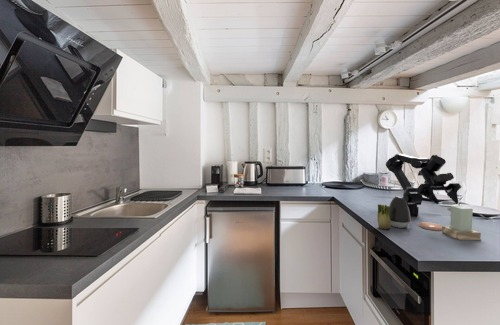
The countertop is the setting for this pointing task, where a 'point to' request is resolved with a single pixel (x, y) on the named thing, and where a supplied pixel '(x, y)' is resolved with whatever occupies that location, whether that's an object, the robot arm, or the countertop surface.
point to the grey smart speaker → (399, 213)
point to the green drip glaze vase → (383, 216)
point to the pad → (430, 226)
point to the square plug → (461, 218)
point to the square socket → (461, 234)
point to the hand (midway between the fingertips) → (447, 203)
